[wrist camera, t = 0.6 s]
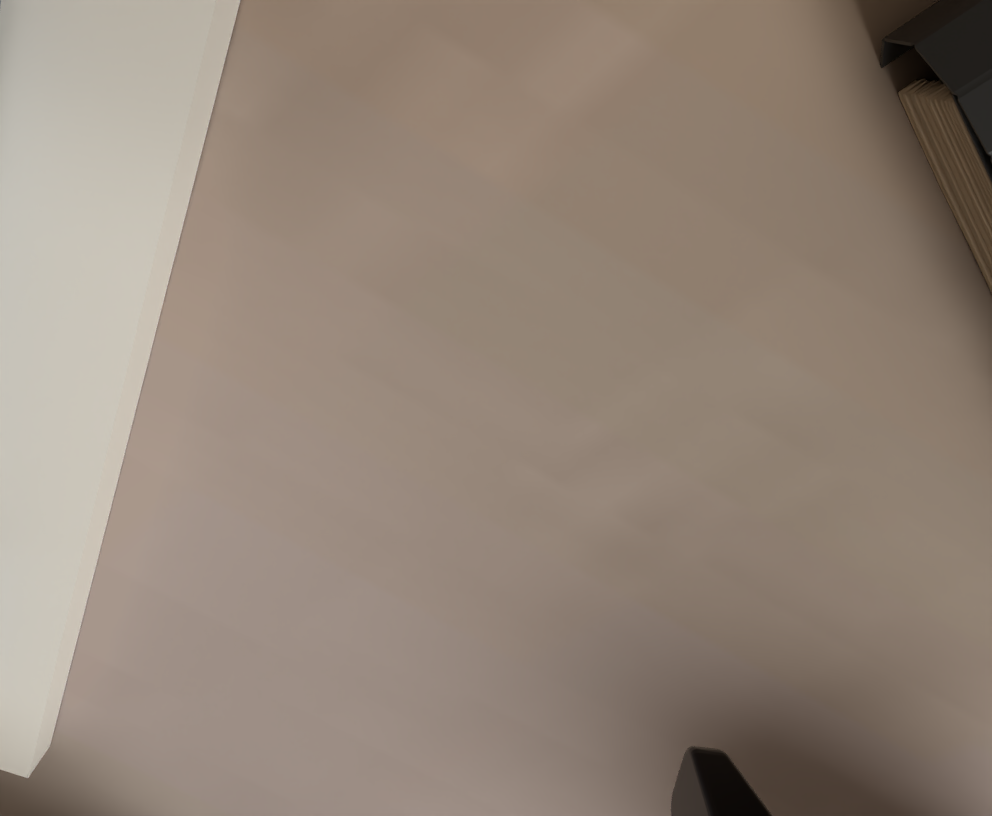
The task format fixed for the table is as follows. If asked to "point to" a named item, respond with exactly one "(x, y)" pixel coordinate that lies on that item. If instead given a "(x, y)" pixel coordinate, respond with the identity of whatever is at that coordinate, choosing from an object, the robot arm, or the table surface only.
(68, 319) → the board
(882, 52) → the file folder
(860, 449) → the table surface
